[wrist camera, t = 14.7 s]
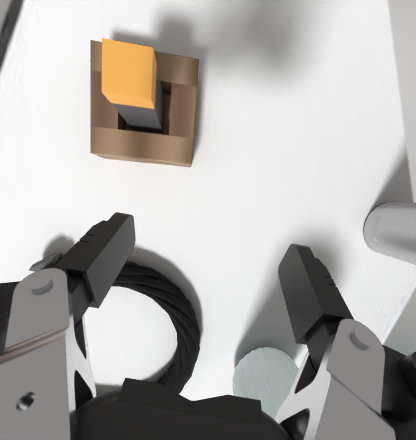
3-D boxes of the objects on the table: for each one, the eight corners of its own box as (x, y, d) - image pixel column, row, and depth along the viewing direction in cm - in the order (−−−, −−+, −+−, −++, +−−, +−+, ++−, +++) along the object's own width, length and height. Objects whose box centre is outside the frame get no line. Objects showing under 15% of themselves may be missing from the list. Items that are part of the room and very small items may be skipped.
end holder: (196, 78, 27) (198, 59, 23) (190, 167, 28) (191, 163, 24) (105, 63, 25) (90, 40, 21) (104, 158, 27) (90, 152, 23)
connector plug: (165, 102, 26) (153, 47, 16) (163, 133, 26) (151, 99, 17) (134, 97, 25) (102, 38, 15) (132, 129, 26) (101, 92, 16)
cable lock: (75, 468, 30) (-69, 318, 24) (87, 436, 33) (-34, 301, 28) (231, 376, 31) (129, 212, 25) (226, 356, 34) (136, 209, 29)
